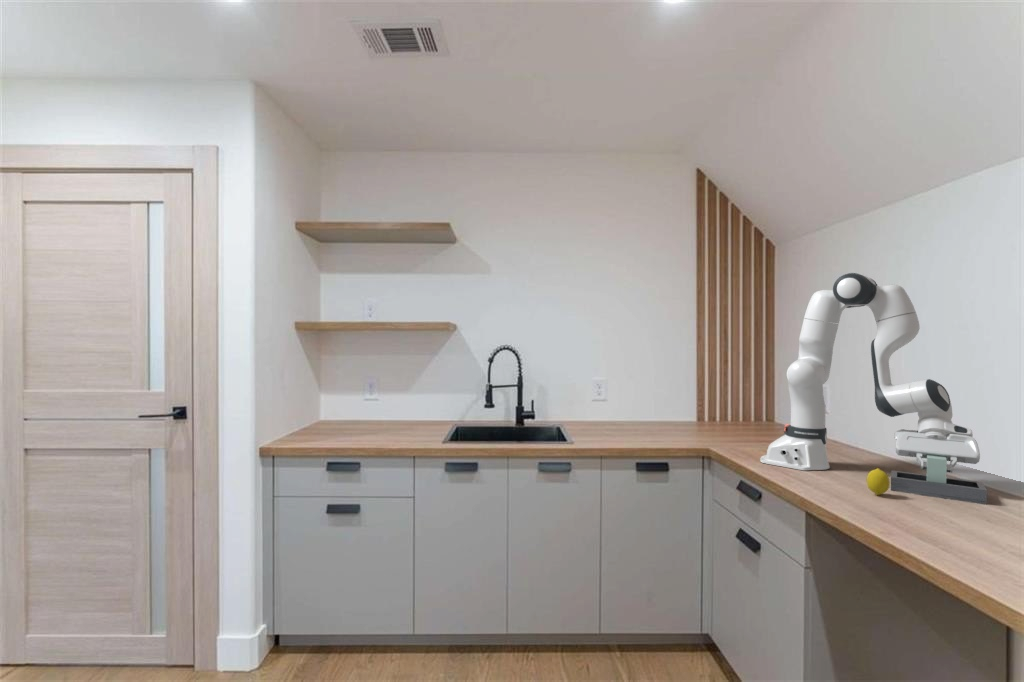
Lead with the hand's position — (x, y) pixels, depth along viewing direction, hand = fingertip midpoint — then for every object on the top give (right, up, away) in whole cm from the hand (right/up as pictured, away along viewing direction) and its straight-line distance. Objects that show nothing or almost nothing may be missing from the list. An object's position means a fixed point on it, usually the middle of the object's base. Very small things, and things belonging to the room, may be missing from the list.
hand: (936, 469), depth 159 cm
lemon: (-19, -7, -2) cm, 21 cm away
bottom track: (0, -7, +1) cm, 7 cm away
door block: (0, -4, +1) cm, 4 cm away
